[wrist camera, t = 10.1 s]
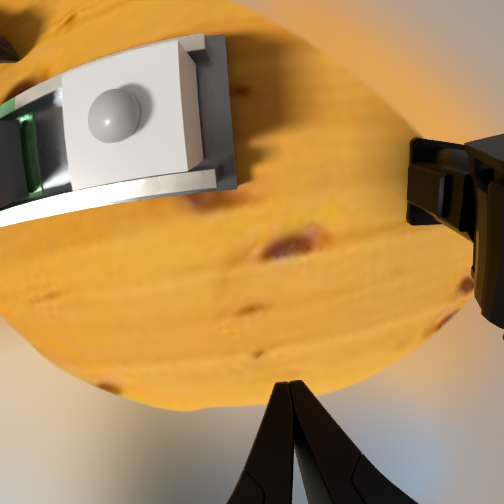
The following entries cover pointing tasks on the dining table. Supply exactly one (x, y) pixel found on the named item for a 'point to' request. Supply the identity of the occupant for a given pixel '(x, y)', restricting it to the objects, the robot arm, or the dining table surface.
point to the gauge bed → (65, 199)
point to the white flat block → (11, 164)
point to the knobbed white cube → (132, 116)
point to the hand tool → (7, 52)
